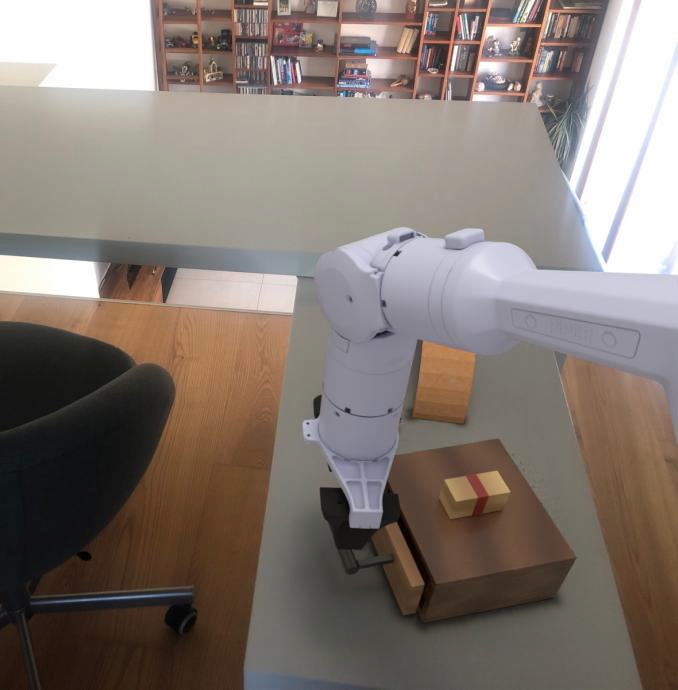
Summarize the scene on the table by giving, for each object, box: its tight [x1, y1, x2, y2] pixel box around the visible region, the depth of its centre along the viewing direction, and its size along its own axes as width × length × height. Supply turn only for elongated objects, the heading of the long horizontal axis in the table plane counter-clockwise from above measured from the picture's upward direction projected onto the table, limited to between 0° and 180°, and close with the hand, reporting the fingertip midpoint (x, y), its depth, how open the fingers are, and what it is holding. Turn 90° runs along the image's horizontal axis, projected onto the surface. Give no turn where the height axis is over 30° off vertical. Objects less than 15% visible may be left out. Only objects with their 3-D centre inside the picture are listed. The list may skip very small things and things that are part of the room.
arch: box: [411, 340, 477, 425], centre depth 82 cm, size 6×20×10 cm, turn 169°
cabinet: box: [383, 438, 578, 624], centre depth 64 cm, size 12×13×6 cm
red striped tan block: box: [439, 471, 510, 519], centre depth 61 cm, size 5×2×3 cm, turn 101°
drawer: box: [326, 484, 432, 616], centre depth 63 cm, size 16×12×5 cm
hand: (344, 505), depth 57 cm, fingers open, 7 cm apart
